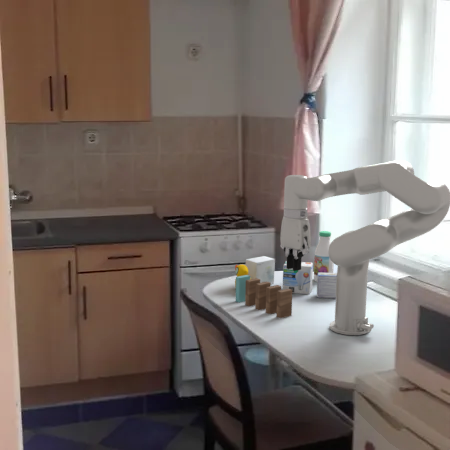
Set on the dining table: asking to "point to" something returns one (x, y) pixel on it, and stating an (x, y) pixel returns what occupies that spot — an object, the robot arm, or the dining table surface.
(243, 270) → the duckling
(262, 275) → the skincare box
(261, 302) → the tile
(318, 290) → the medicine box
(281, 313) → the tile
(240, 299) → the teal tile
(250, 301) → the tile
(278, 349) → the dining table surface
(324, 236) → the milk bottle
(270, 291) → the tile
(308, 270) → the light bulb box
